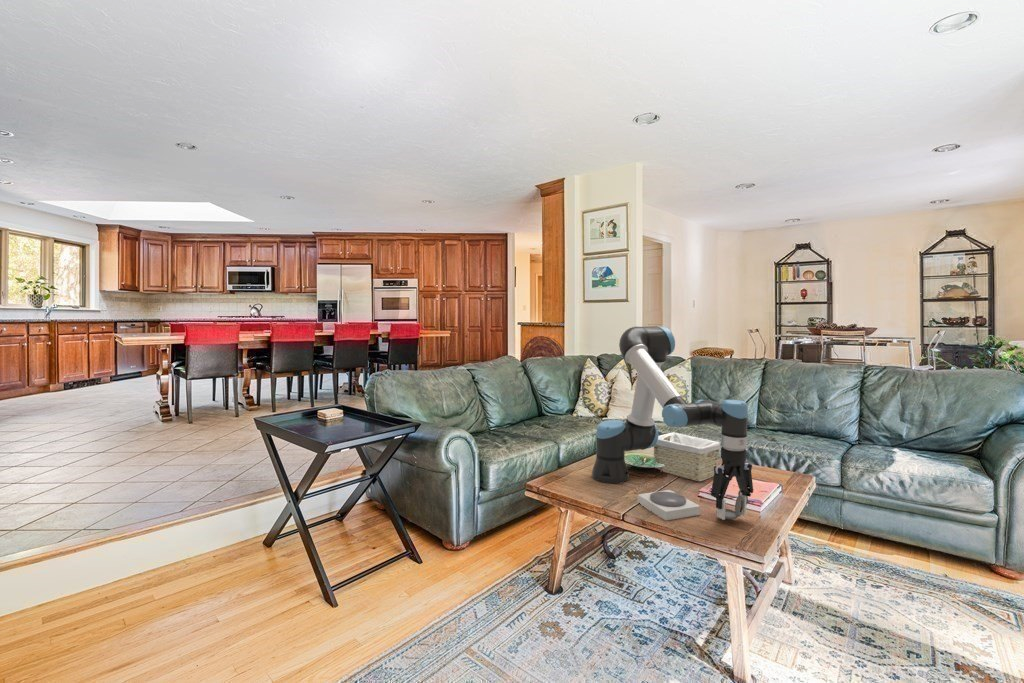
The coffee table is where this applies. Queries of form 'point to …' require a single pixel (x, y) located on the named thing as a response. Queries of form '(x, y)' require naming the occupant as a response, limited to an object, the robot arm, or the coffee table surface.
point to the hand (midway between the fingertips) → (731, 515)
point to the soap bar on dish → (668, 505)
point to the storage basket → (687, 456)
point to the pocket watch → (738, 508)
